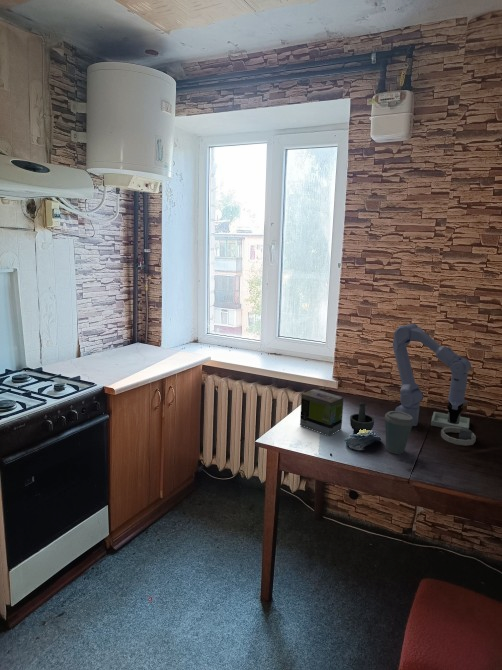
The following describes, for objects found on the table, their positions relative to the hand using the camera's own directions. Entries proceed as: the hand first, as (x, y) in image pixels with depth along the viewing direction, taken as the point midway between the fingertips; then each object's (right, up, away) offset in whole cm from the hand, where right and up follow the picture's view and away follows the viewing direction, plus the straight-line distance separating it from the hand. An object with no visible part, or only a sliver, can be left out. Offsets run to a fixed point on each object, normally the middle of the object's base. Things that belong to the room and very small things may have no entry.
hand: (453, 420), depth 179 cm
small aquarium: (-52, -5, +9) cm, 53 cm away
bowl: (+2, -8, +1) cm, 8 cm away
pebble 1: (0, -1, 0) cm, 1 cm away
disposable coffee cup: (-26, -10, -9) cm, 30 cm away
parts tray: (+5, -5, +14) cm, 16 cm away
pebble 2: (+4, -8, -1) cm, 9 cm away
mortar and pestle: (-36, -6, +5) cm, 37 cm away
